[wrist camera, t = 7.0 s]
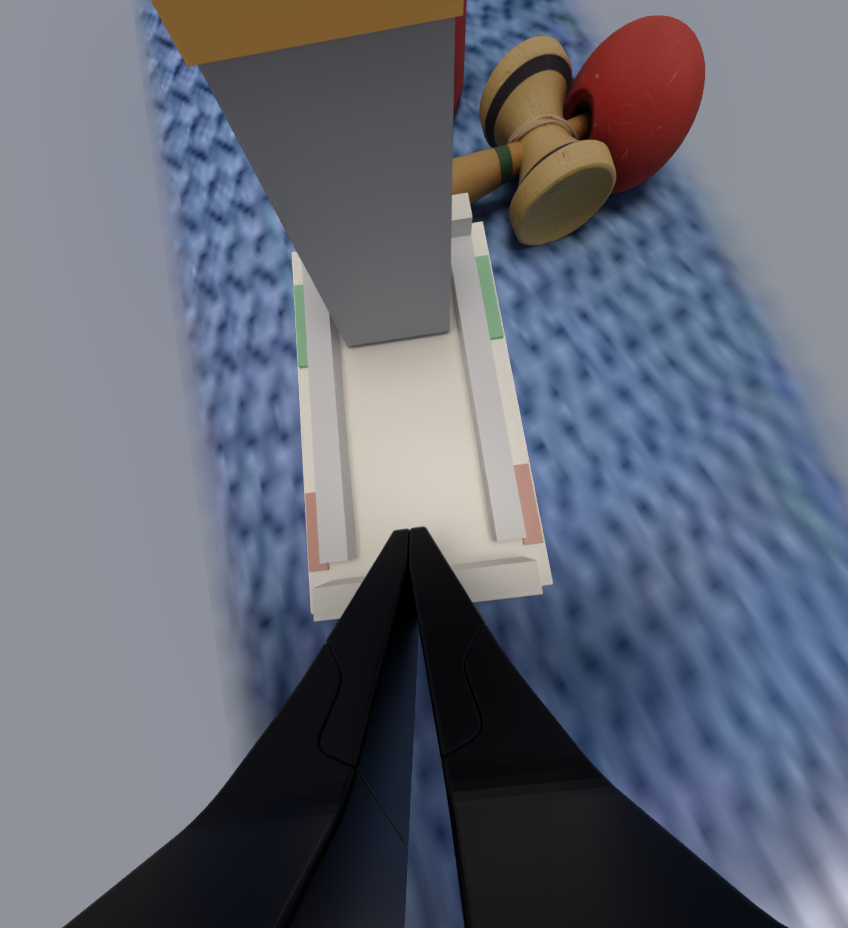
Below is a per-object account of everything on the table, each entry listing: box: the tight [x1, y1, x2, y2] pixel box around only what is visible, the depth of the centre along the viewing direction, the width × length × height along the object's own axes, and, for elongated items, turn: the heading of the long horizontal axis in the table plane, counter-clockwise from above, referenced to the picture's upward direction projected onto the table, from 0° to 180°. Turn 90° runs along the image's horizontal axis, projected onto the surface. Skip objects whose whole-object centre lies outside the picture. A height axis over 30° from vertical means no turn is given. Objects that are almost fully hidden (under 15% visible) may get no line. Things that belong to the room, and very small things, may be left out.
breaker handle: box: [151, 0, 464, 346], centre depth 10 cm, size 3×5×10 cm
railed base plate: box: [292, 193, 553, 622], centre depth 15 cm, size 16×9×5 cm, turn 8°
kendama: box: [452, 16, 705, 246], centre depth 17 cm, size 8×6×18 cm
